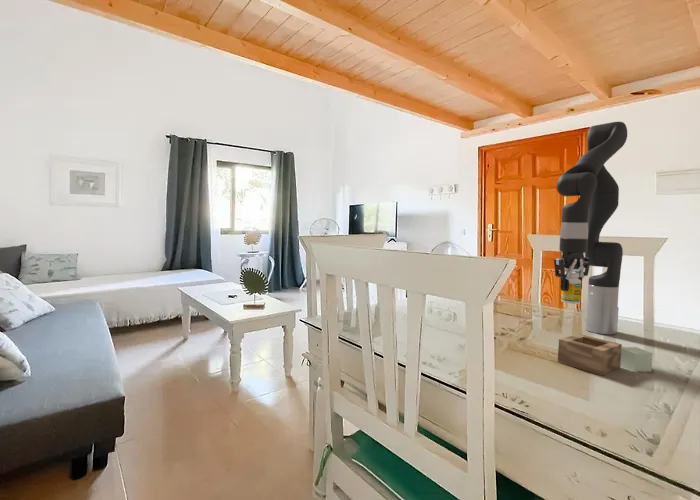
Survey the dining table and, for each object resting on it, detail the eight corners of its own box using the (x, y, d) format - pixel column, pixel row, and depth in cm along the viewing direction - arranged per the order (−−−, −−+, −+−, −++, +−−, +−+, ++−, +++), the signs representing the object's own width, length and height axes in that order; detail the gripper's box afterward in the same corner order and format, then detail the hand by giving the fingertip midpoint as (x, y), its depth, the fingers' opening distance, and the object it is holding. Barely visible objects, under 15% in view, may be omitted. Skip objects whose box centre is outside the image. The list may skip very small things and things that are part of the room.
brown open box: (577, 354, 108) (578, 333, 108) (620, 367, 99) (621, 344, 99) (557, 361, 103) (558, 339, 102) (600, 375, 93) (602, 351, 93)
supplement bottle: (566, 299, 119) (567, 271, 118) (583, 302, 115) (585, 272, 114) (557, 301, 116) (559, 272, 115) (575, 304, 112) (576, 274, 111)
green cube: (634, 364, 102) (635, 347, 101) (651, 371, 97) (652, 353, 96) (618, 364, 101) (619, 347, 101) (634, 372, 96) (635, 353, 96)
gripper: (578, 236, 120) (575, 286, 121) (546, 236, 115) (544, 289, 116) (601, 237, 113) (598, 290, 114) (568, 237, 108) (566, 293, 109)
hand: (571, 289), depth 115 cm, fingers closed on supplement bottle, 5 cm apart
